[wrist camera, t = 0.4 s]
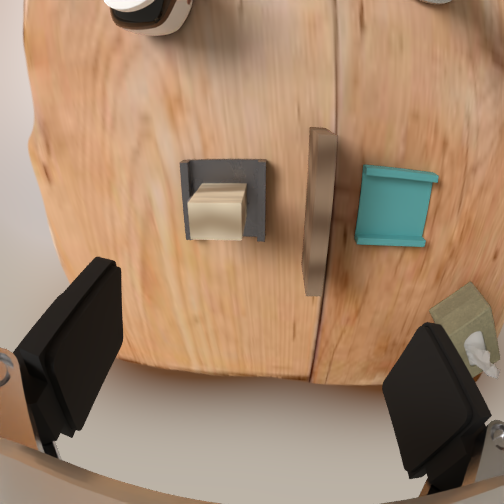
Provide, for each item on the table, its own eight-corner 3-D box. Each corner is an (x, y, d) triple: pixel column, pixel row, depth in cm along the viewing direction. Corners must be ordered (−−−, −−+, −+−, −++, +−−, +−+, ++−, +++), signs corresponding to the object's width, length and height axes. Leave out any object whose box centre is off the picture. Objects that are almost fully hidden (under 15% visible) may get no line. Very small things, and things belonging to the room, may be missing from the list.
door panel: (309, 127, 37) (318, 134, 30) (325, 128, 37) (337, 135, 30) (301, 264, 47) (305, 296, 40) (314, 264, 47) (321, 296, 40)
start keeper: (183, 160, 40) (179, 162, 39) (266, 159, 40) (265, 162, 38) (189, 234, 46) (186, 239, 44) (265, 235, 45) (264, 241, 43)
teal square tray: (354, 238, 44) (357, 244, 43) (363, 164, 39) (367, 167, 38) (419, 241, 44) (424, 246, 42) (433, 172, 38) (438, 175, 37)
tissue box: (485, 335, 53) (515, 386, 39) (450, 358, 56) (475, 413, 42) (469, 279, 46) (512, 336, 33) (427, 308, 50) (461, 371, 36)
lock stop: (197, 183, 42) (182, 202, 35) (246, 183, 41) (241, 203, 34) (199, 214, 44) (185, 239, 37) (247, 214, 43) (241, 240, 36)
